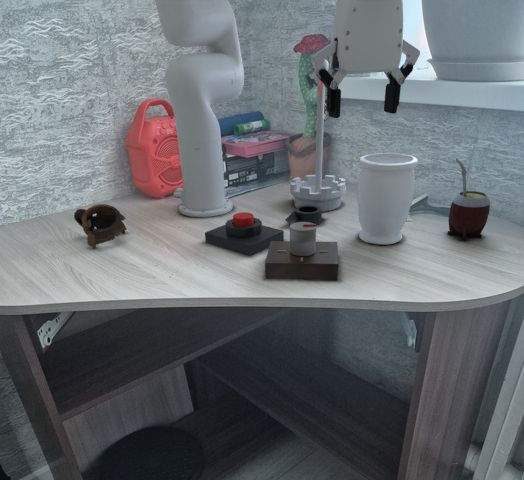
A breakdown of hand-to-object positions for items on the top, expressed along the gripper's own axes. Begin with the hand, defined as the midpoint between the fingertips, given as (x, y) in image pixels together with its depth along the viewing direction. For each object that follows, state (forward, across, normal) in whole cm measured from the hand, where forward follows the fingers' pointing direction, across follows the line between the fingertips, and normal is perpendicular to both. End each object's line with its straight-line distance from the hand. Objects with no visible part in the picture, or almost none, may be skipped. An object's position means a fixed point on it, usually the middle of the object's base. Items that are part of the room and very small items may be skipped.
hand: (362, 114), depth 77 cm
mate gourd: (+24, -24, -1) cm, 33 cm away
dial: (+20, +11, +4) cm, 23 cm away
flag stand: (+23, -4, -31) cm, 39 cm away
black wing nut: (+23, +2, -19) cm, 30 cm away
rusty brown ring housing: (+23, +45, -23) cm, 56 cm away
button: (+19, +18, -12) cm, 29 cm away
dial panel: (+23, +11, +4) cm, 26 cm away
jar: (+23, -8, -5) cm, 25 cm away
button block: (+23, +18, -12) cm, 32 cm away
